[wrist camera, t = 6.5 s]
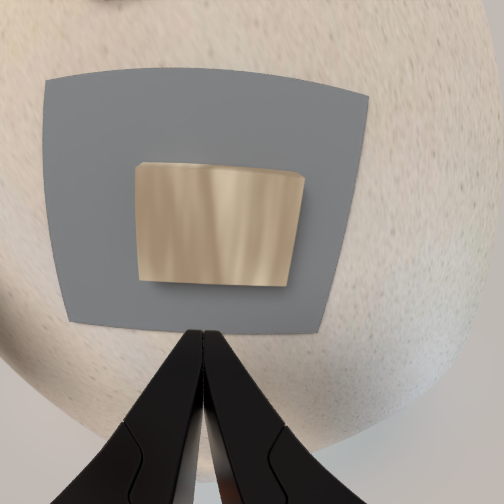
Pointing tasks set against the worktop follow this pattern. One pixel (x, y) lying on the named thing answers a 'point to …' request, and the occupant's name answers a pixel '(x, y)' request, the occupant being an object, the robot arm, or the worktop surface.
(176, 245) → the tile
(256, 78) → the mat
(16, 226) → the worktop surface
